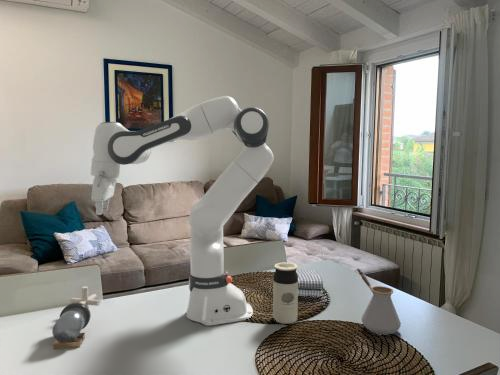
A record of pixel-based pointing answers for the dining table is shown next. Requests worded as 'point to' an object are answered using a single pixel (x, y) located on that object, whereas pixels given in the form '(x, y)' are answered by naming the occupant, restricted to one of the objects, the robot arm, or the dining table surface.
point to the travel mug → (285, 293)
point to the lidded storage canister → (71, 326)
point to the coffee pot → (380, 310)
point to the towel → (309, 283)
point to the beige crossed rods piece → (86, 298)
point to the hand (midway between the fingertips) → (101, 212)
